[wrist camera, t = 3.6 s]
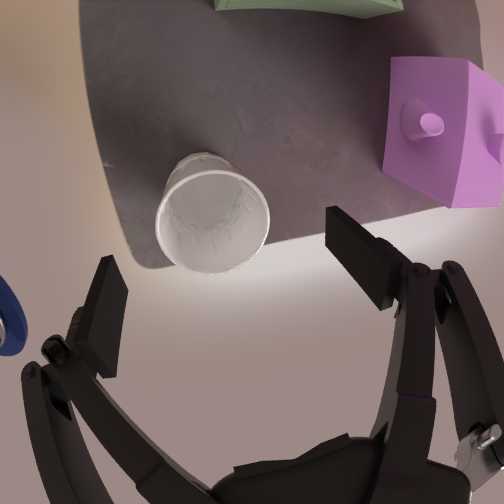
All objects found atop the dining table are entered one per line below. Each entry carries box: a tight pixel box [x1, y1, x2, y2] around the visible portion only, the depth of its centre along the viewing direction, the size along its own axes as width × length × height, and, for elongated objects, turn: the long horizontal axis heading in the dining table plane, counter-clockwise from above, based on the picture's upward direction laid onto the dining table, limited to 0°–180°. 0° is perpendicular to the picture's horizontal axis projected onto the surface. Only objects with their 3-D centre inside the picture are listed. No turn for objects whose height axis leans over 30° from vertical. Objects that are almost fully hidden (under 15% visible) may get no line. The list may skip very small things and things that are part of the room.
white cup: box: [155, 152, 270, 275], centre depth 23 cm, size 8×8×10 cm
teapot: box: [382, 56, 504, 208], centre depth 22 cm, size 15×25×14 cm, turn 89°
